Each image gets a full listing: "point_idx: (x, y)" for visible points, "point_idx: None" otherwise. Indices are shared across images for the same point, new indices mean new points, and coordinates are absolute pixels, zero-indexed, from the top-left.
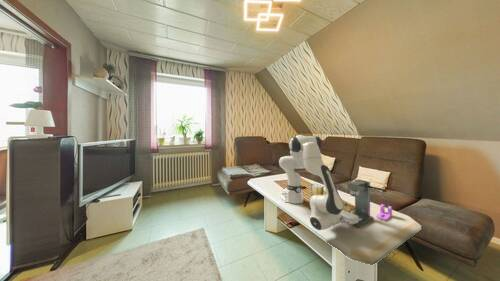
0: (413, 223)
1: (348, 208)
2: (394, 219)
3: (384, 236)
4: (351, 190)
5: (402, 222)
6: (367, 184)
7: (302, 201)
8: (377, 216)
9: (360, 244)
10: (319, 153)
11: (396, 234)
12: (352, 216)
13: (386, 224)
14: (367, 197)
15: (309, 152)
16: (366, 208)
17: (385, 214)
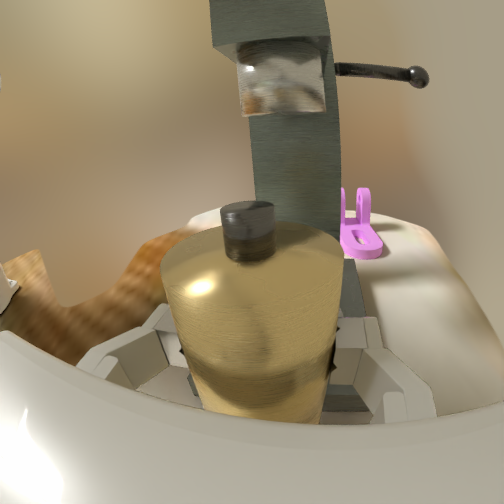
0: (424, 229)
1: (335, 305)
2: (386, 235)
3: (490, 360)
4: (257, 52)
5: (410, 237)
6: (330, 48)
7: (2, 306)
8: (351, 247)
9: None
10: None
11: (480, 307)
12: None
13: (405, 271)
14: (338, 138)
15: None
16: (333, 220)
17: (356, 226)
